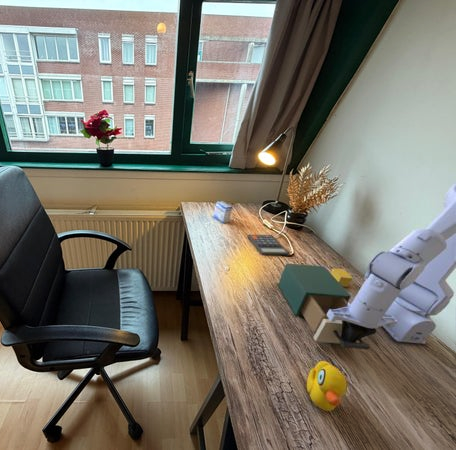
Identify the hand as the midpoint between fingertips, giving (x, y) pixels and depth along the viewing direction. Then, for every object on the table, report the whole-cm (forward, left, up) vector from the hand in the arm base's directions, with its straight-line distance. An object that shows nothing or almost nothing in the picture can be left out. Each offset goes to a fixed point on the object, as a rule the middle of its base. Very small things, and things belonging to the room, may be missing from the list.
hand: (345, 341), depth 61 cm
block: (+29, -17, -4) cm, 34 cm away
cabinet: (+18, 0, -4) cm, 19 cm away
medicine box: (+74, +17, -5) cm, 76 cm away
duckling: (-12, +12, -5) cm, 17 cm away
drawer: (+6, 0, -3) cm, 7 cm away
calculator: (+51, +1, -4) cm, 51 cm away
